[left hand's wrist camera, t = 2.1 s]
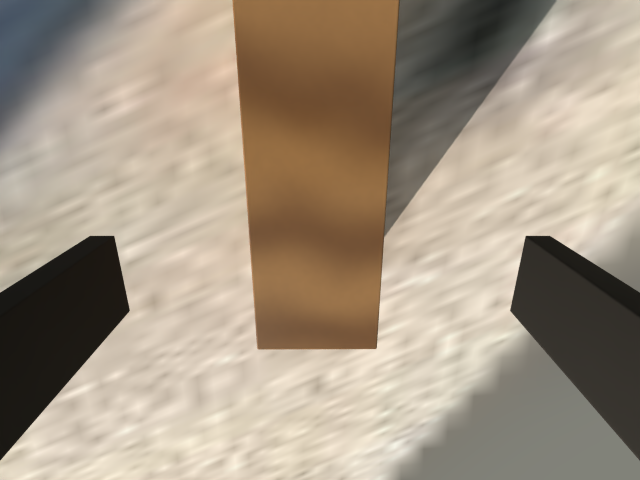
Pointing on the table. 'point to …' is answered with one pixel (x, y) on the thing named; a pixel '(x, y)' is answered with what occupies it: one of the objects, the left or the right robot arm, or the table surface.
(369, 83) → the post
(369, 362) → the table surface
